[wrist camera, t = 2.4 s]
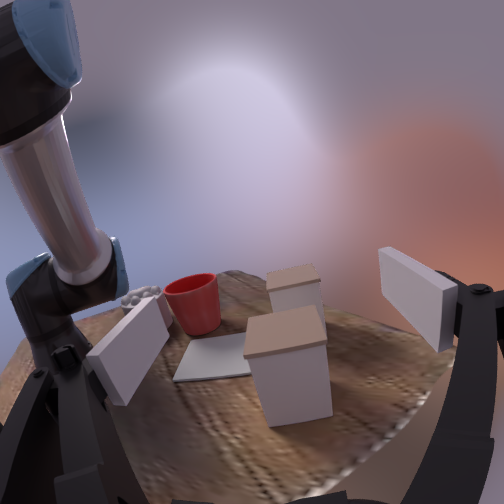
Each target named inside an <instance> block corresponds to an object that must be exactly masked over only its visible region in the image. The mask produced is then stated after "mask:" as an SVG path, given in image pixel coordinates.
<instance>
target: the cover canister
mask: <svg viewBox="0 0 504 504" xmlns="http://www.w3.org/2000/svg"><path fill="white" fill-rule="evenodd" d="M326 344H328V340H327V337H326V334H325V331H324V328H323V326H322V323H321V320H320V318H319V315H318V312H317V309H316V307H315V305H310V306H305V307H301V308H296V309H291V310H286V311H281V312H276V313H271V314H266V315H261V316H255V317H250V318H248V324H247V331H246V338H245V345H244V352H243V357H244V360H246V359H247V361H248V364H249V367H250V370H251V374H252V377H253V380H254V383H255V387H256V390H257V393H258V396H259V399H260V402H261V405H262V408H263V412H264V415H265V418H266V421H267V424H268V427H274V426H282V425H288V424H294V423H300V422H306V421H311V420H316V419H321V418H326V417H330V416H333V410H332V398H331V388H330V378H329V369H328V360H327V352H326Z"/></svg>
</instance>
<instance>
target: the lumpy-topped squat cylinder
mask: <svg viewBox="0 0 504 504" xmlns="http://www.w3.org/2000/svg"><path fill="white" fill-rule="evenodd" d="M153 296H155V298H156V301H157V304H158V307H159V309H160V312H161V315H162V318H163V320H164V323H165V326H166V328H167V329H168V328H169V327H170V325H171V324H172V322H173V319H172V316H171V314H170V311H169V308H168V305H167V302H166V299H165V296H164V293H163V291H162V290H161V289H160V288H159V287H158V286H153V287H150V286H144V287H141V288H139V289H136V290H133V291H130V292H129V293H128V295H127V296H124V297H123V298H122V299H121V306H122V309H123V312H124V314H125V316H126V315H127V314H128V313H129V312H130V311H131V310H132V309H133V308H134V307H135V306H136V305H137V304H139V303H140V302H141V301H142V300H143V299H144V298H148V297H153Z"/></svg>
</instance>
